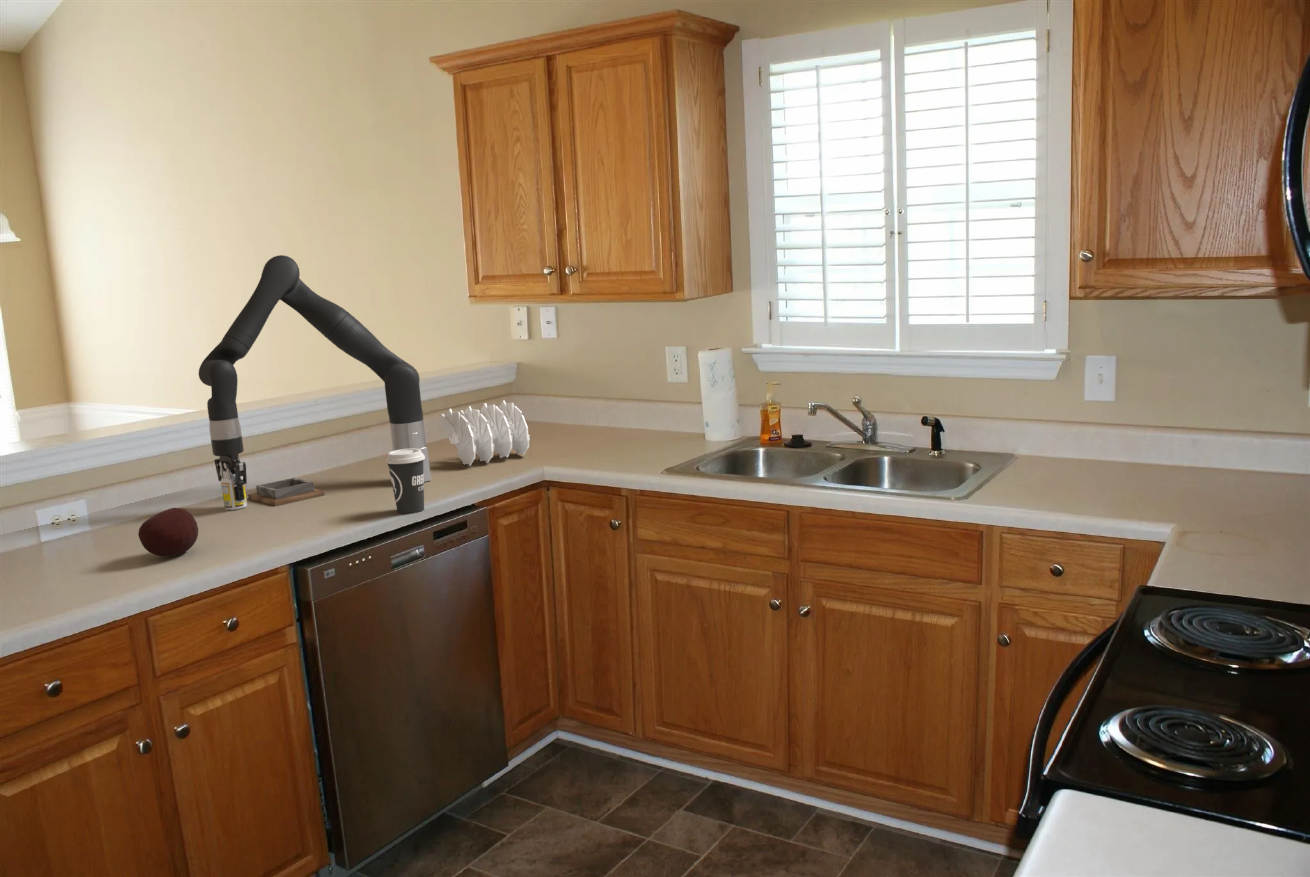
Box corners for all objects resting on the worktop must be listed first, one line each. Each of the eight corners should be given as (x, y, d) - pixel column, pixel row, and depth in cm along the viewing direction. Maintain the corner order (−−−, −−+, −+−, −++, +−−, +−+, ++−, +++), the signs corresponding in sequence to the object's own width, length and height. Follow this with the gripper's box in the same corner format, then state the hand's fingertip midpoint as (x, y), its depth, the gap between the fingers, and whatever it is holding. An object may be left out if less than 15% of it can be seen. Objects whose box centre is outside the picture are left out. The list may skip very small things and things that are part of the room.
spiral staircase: (533, 468, 320) (461, 479, 305) (506, 438, 332) (434, 447, 316) (545, 417, 312) (471, 426, 297) (516, 389, 323) (444, 395, 308)
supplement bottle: (250, 504, 276) (245, 467, 274) (243, 509, 271) (238, 471, 269) (228, 506, 276) (223, 468, 274) (222, 511, 270) (216, 473, 268)
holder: (324, 494, 282) (322, 482, 282) (275, 506, 272) (273, 492, 272) (296, 488, 293) (294, 475, 293) (248, 498, 284) (246, 485, 283)
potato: (130, 563, 226) (123, 517, 224) (177, 546, 238) (170, 502, 236) (169, 566, 222) (162, 519, 220) (215, 548, 234) (208, 503, 232)
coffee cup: (410, 516, 252) (404, 456, 249) (383, 513, 257) (376, 454, 254) (438, 507, 259) (432, 448, 257) (410, 504, 265) (404, 447, 262)
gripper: (252, 435, 267) (260, 499, 270) (228, 431, 277) (236, 492, 280) (223, 440, 262) (232, 505, 265) (200, 436, 272) (209, 498, 275)
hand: (234, 498), depth 273 cm, fingers closed on supplement bottle, 5 cm apart
